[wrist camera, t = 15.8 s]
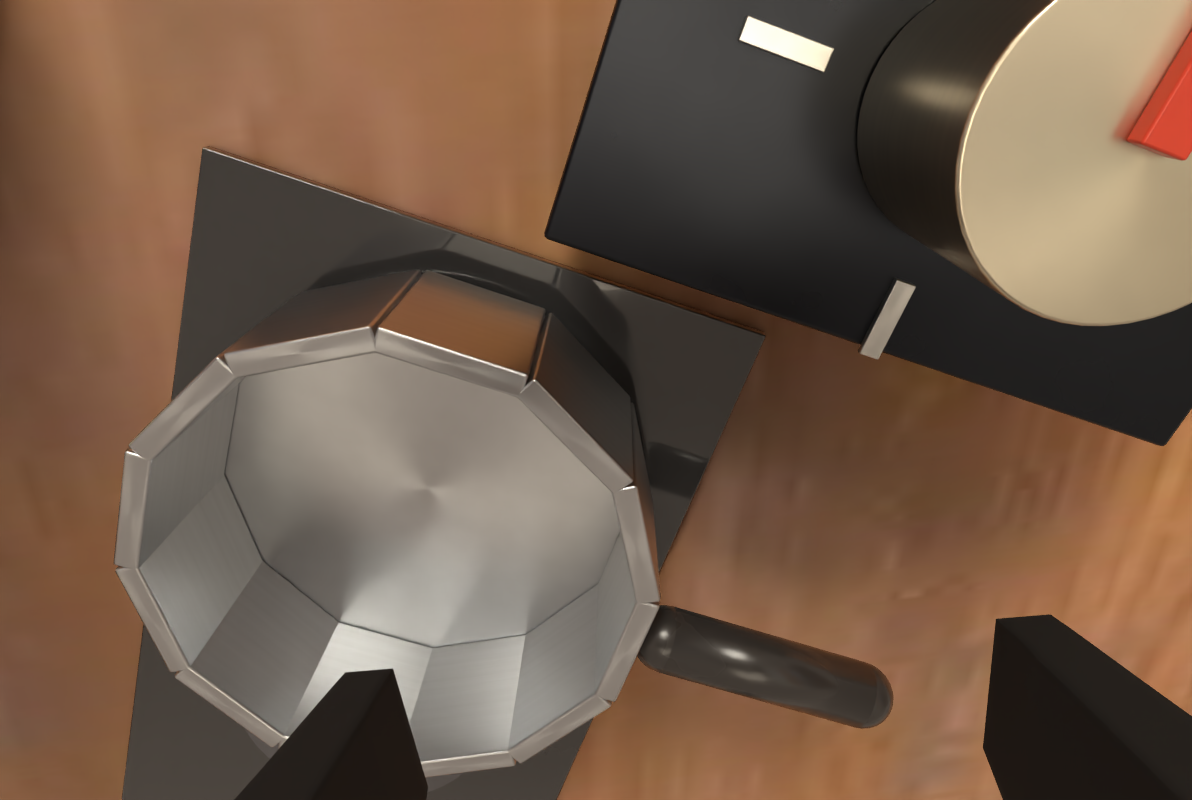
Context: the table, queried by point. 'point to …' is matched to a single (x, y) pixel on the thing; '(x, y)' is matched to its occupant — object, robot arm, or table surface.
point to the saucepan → (425, 530)
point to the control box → (818, 206)
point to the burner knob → (1043, 150)
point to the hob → (408, 242)
